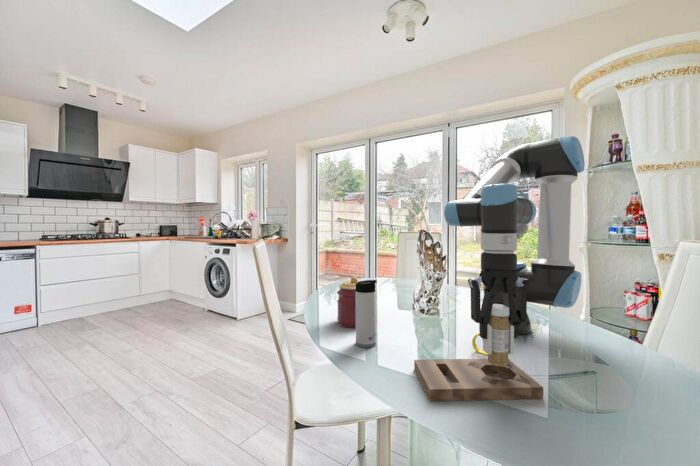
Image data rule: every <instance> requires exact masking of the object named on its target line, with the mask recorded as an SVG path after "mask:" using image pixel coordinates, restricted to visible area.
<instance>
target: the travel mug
mask: <svg viewBox="0 0 700 466" xmlns="http://www.w3.org/2000/svg"><path fill="white" fill-rule="evenodd" d="M359 281H360V282H357V283H356V291H355V292H356V293H355V300H356V328H355V345H356V346H357V347H359V348H361V349H362V348H363V349H369V348H371V349H372V348H373V347H375V346H376V344H377V313H376V312H377V310H376V309H377V308H376V307H377V305H376V304H377V303H376V302H377V300H376V299H377V296H376V294H377V293H376V284H377V283H378V282H377V279H368V280H359Z"/></svg>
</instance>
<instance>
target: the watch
mask: <svg viewBox="0 0 700 466" xmlns="http://www.w3.org/2000/svg"><path fill="white" fill-rule="evenodd" d="M478 337H480V335H479V331H478V332H477V333H476V334H475V335H474V337H473V338H472V343H471V344H472V347H473V349H474V350H475V351H476V353H478V354H481V355H485V356H488V354H487V353H486V352H485V351H484V350H480V349H479V348H478V346H477V344H476V338H478Z"/></svg>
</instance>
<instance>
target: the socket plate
mask: <svg viewBox="0 0 700 466" xmlns="http://www.w3.org/2000/svg"><path fill="white" fill-rule="evenodd" d="M487 359H488V358H450V359H449V358H447V359H446V358H443V359H439V358H438V359H433V358H431V359H414V360H413V361H414V364H413V366H414V368H413V369H414V373H416V376H417V378H418V379H419V381H420V383H421V386H422V388H423V389H424V392H425V394H426V396H427V399H428V401H429V402H445V401H446V402H453V401H456V402H461V401H462V402H463V401H501V400H502V401H504V400H509V401H512V400H513V401H515V400H543V399H544V386H542V384H540V383H539V382H538V381H536V380H535V378H533V377H531V376H530V375H529V374H528V373H526V372H525V371H524V370H523V369H522V368H520V367H519V366H518V365H516V364H515V363H514V362H513V361H511V360H510V358H508V361H509V364H508V365H507V366H505V367H500V366H495V365H492V364H491V363H489V362H488V360H487ZM444 374H445V375H446V376H447V378H448V377H449V378H448V379H449V380H450V382H449V381H448V380H447V378H446V376H444ZM493 376H500V377H503V378H505V379H503V378H502V379H499V378H496V377H493Z"/></svg>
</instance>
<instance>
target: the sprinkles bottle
mask: <svg viewBox="0 0 700 466" xmlns="http://www.w3.org/2000/svg"><path fill="white" fill-rule="evenodd" d="M508 318H509V307H508V306H506V305H502V304H493V306H492V310H491V314H490V319H489V323H488V324H489V325H491V326H492V355H487V358H486V359H487V360H488V362H489V363H491V364H492V365H495V366H500V367H505V366H507V365H508V364H509V361H508V359H509V353H508V351H509V326H508Z"/></svg>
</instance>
